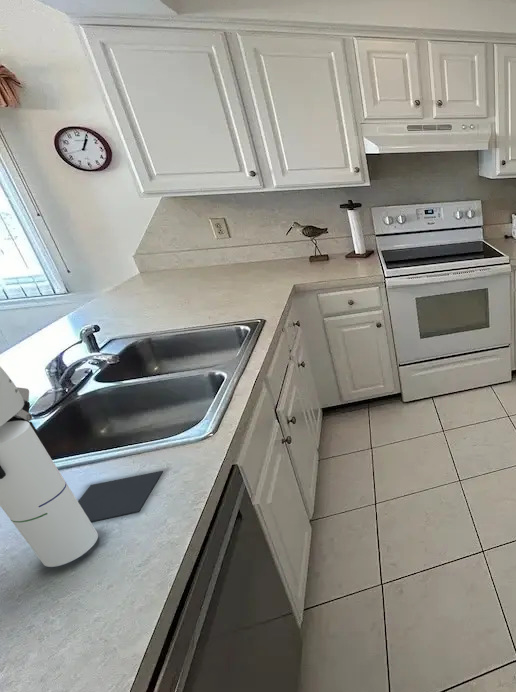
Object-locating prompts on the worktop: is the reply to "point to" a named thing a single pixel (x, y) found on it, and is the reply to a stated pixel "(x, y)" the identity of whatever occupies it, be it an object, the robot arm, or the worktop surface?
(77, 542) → the cylindrical container
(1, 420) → the robot arm
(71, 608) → the worktop surface
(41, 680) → the worktop surface
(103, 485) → the mat
